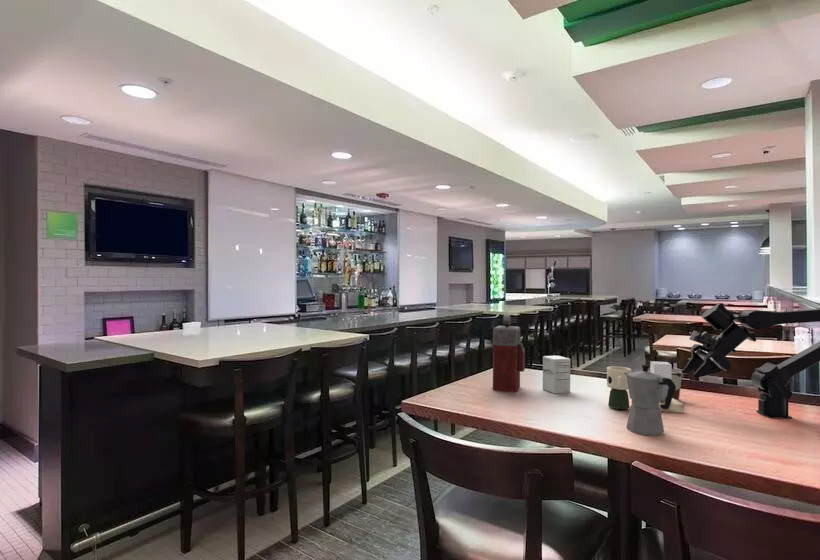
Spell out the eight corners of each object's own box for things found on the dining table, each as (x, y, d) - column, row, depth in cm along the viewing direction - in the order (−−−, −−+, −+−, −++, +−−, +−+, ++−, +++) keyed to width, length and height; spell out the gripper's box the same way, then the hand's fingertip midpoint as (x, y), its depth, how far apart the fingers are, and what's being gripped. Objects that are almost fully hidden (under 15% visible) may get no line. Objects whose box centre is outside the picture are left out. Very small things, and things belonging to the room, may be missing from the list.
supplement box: (541, 389, 173) (542, 355, 173) (558, 388, 175) (558, 355, 175) (553, 393, 166) (553, 359, 166) (570, 392, 168) (571, 358, 168)
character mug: (606, 403, 153) (606, 364, 154) (629, 405, 151) (629, 366, 151) (607, 411, 143) (607, 370, 143) (632, 414, 141) (633, 372, 141)
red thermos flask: (523, 392, 167) (523, 316, 167) (492, 390, 171) (493, 315, 171) (526, 387, 175) (526, 314, 176) (496, 385, 179) (497, 313, 180)
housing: (666, 398, 150) (667, 362, 150) (671, 402, 146) (671, 364, 146) (650, 397, 152) (650, 361, 152) (654, 401, 147) (654, 363, 147)
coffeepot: (612, 425, 129) (613, 361, 129) (636, 421, 133) (637, 359, 133) (662, 443, 115) (662, 371, 115) (687, 438, 119) (687, 369, 119)
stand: (669, 404, 153) (669, 396, 153) (684, 412, 143) (684, 404, 143) (638, 403, 154) (638, 395, 154) (650, 411, 144) (650, 403, 144)
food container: (675, 396, 164) (675, 368, 164) (683, 400, 158) (683, 371, 158) (639, 394, 166) (639, 367, 166) (646, 399, 159) (646, 370, 160)
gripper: (697, 320, 154) (661, 351, 157) (719, 324, 136) (677, 360, 139) (724, 344, 152) (687, 375, 155) (749, 352, 134) (707, 388, 137)
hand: (689, 374), depth 147 cm, fingers open, 9 cm apart
